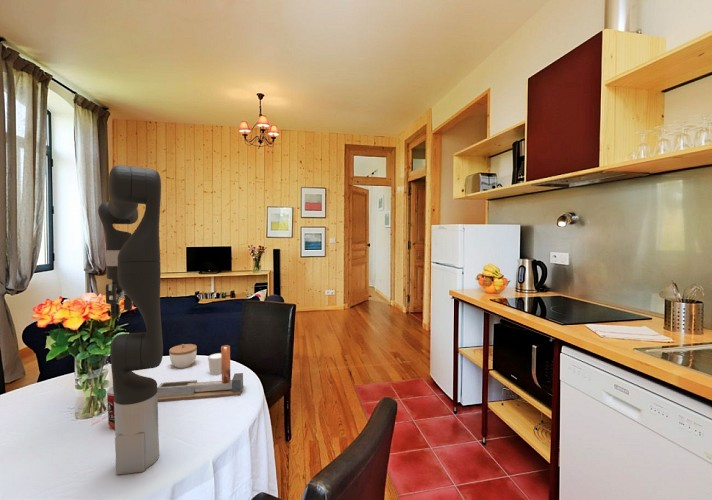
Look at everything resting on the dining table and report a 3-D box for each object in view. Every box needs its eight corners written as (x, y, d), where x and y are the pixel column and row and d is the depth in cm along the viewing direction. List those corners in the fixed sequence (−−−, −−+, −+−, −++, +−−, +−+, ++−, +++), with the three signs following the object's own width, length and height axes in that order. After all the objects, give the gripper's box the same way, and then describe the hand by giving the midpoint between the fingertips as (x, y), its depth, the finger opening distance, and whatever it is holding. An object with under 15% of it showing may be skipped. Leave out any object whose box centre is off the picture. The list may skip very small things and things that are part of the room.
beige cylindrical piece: (208, 370, 143) (207, 354, 142) (225, 367, 145) (225, 351, 145) (208, 376, 136) (208, 359, 136) (226, 373, 139) (226, 357, 139)
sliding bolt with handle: (239, 388, 123) (238, 347, 122) (186, 393, 120) (185, 350, 119) (240, 385, 126) (239, 344, 125) (188, 389, 122) (187, 347, 122)
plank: (240, 395, 121) (240, 392, 121) (155, 402, 116) (155, 399, 116) (243, 386, 128) (243, 384, 128) (163, 392, 123) (162, 390, 123)
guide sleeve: (193, 394, 119) (193, 385, 119) (157, 397, 117) (156, 388, 117) (197, 388, 124) (197, 380, 124) (162, 391, 122) (161, 382, 121)
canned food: (103, 425, 102) (101, 390, 101) (131, 413, 109) (130, 379, 109) (117, 432, 99) (116, 396, 98) (145, 419, 106) (144, 385, 105)
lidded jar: (202, 361, 152) (201, 341, 152) (187, 371, 142) (186, 349, 141) (180, 360, 154) (179, 339, 153) (163, 369, 143) (163, 348, 143)
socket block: (240, 392, 122) (240, 379, 121) (231, 392, 121) (231, 380, 121) (243, 384, 127) (242, 373, 127) (234, 385, 127) (234, 373, 127)
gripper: (122, 265, 104) (124, 317, 105) (142, 261, 118) (143, 307, 119) (95, 266, 102) (97, 318, 103) (118, 262, 116) (120, 308, 117)
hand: (122, 312), depth 111 cm, fingers open, 8 cm apart
